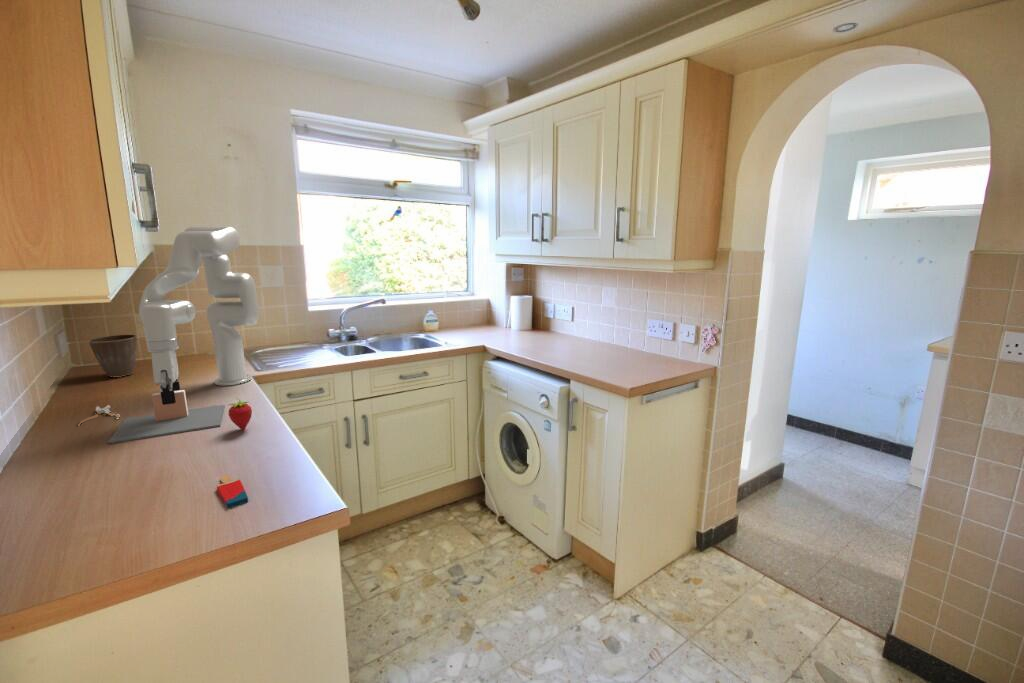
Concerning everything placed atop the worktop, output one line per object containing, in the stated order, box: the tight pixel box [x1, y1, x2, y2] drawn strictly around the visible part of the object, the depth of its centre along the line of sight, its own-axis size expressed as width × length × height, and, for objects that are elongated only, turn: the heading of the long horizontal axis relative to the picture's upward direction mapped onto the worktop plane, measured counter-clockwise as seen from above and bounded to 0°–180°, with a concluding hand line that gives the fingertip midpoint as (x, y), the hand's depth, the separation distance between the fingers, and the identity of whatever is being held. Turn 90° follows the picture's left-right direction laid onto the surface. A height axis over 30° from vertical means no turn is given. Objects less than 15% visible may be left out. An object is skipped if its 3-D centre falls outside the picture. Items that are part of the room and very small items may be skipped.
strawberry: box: [227, 397, 253, 431], centre depth 134 cm, size 6×8×10 cm
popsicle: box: [216, 475, 249, 509], centre depth 101 cm, size 5×2×15 cm
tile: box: [151, 389, 189, 421], centre depth 143 cm, size 2×8×8 cm, turn 118°
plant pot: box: [88, 334, 138, 377], centre depth 190 cm, size 15×15×16 cm
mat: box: [107, 404, 226, 445], centre depth 140 cm, size 20×26×1 cm
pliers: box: [95, 404, 121, 420], centre depth 147 cm, size 10×2×15 cm
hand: (172, 398), depth 143 cm, fingers open, 9 cm apart
